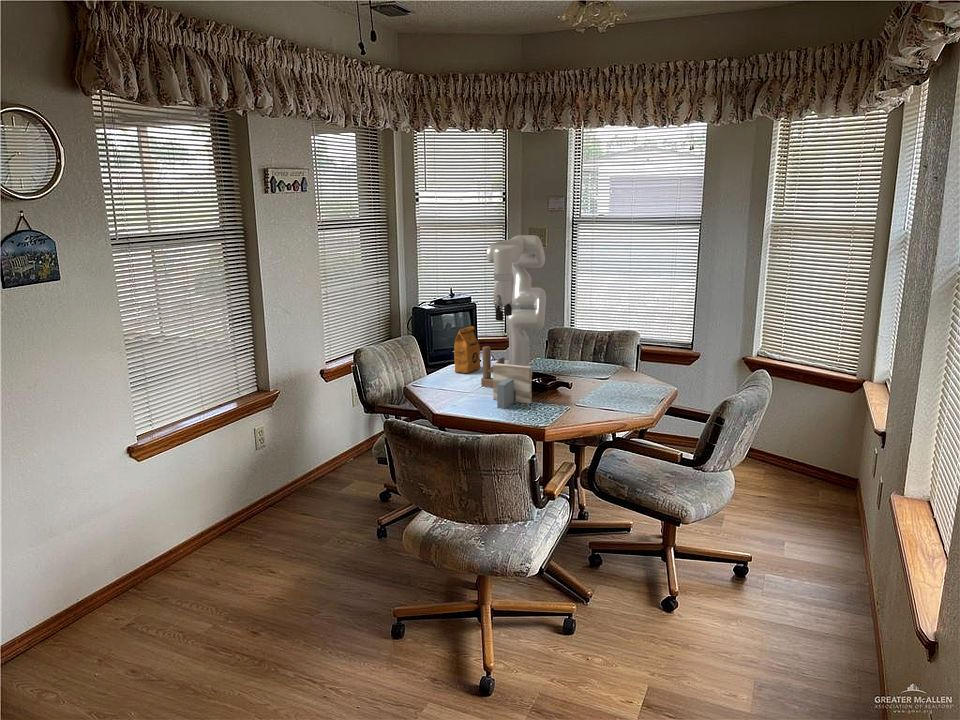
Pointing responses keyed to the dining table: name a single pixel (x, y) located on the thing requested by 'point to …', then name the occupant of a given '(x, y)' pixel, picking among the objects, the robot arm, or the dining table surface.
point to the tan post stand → (488, 367)
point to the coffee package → (466, 351)
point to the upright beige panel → (520, 377)
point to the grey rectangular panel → (505, 393)
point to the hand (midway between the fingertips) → (503, 317)
